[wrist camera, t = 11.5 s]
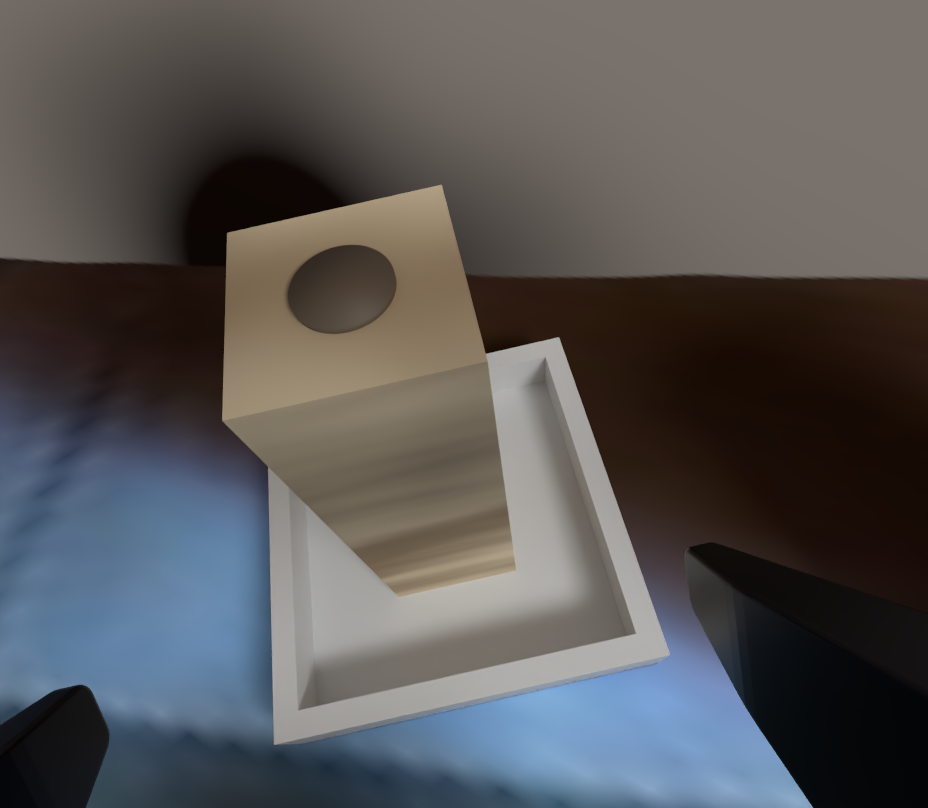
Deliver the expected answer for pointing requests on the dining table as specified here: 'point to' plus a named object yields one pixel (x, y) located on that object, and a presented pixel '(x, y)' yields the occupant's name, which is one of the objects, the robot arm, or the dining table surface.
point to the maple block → (371, 385)
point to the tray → (466, 585)
